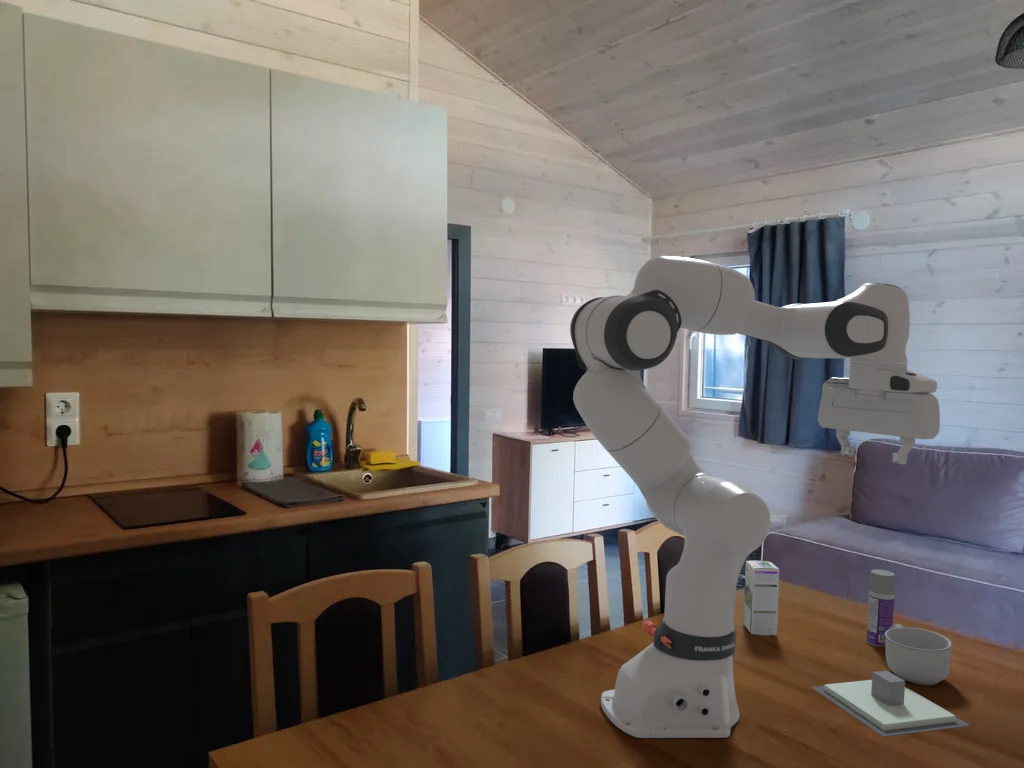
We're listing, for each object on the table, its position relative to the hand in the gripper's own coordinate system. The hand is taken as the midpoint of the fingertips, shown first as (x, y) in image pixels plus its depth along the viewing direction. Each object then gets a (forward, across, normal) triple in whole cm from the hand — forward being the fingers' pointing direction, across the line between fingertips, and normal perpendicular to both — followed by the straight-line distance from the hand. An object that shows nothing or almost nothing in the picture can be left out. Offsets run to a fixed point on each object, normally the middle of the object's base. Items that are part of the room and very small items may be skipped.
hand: (872, 459), depth 126 cm
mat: (+42, +5, 0) cm, 42 cm away
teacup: (+42, -1, +18) cm, 45 cm away
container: (+42, -13, +26) cm, 51 cm away
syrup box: (+42, -29, +9) cm, 52 cm away
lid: (+41, +5, 0) cm, 41 cm away
